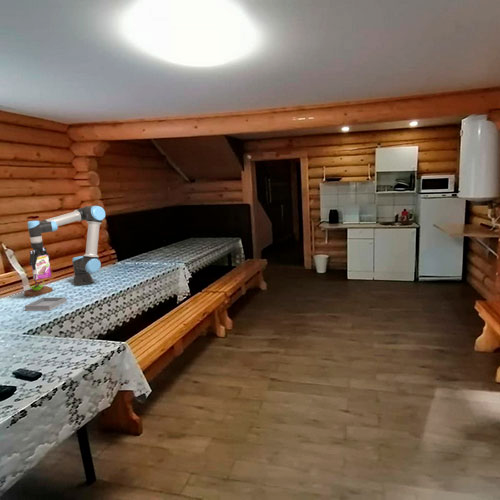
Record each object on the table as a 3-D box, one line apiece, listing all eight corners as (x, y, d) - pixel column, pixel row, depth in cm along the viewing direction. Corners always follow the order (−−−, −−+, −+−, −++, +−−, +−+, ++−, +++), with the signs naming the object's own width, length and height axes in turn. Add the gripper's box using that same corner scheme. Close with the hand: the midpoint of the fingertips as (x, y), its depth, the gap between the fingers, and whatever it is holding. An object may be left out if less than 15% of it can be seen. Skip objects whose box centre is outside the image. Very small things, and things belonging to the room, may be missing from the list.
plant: (47, 287, 314) (45, 274, 312) (56, 291, 300) (53, 277, 298) (20, 294, 300) (17, 280, 298) (27, 298, 287) (25, 283, 285)
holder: (43, 302, 273) (43, 297, 272) (66, 301, 270) (66, 297, 269) (25, 310, 255) (24, 305, 255) (49, 310, 252) (49, 305, 252)
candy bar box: (35, 280, 274) (31, 258, 271) (33, 279, 278) (29, 257, 274) (52, 276, 282) (48, 255, 278) (50, 275, 285) (46, 254, 282)
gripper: (43, 239, 287) (48, 268, 291) (19, 245, 264) (25, 276, 268) (52, 239, 285) (57, 267, 290) (29, 245, 262) (35, 275, 267)
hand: (41, 271), depth 279 cm, fingers closed on candy bar box, 11 cm apart
